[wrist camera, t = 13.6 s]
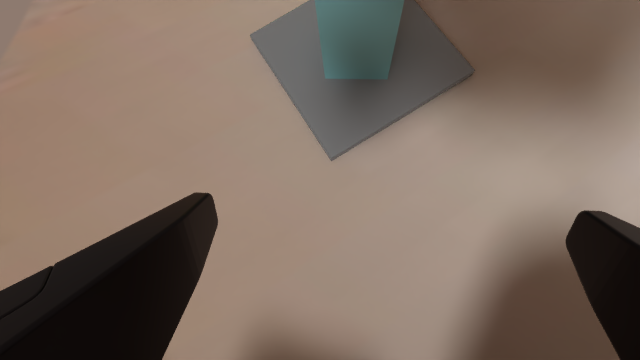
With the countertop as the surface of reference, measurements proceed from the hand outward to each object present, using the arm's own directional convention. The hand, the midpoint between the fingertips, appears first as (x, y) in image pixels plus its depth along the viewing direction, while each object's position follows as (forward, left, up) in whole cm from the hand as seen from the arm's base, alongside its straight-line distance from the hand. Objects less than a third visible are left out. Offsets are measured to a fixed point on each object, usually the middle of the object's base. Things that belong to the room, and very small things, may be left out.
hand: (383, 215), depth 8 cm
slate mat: (+12, -7, -14) cm, 19 cm away
